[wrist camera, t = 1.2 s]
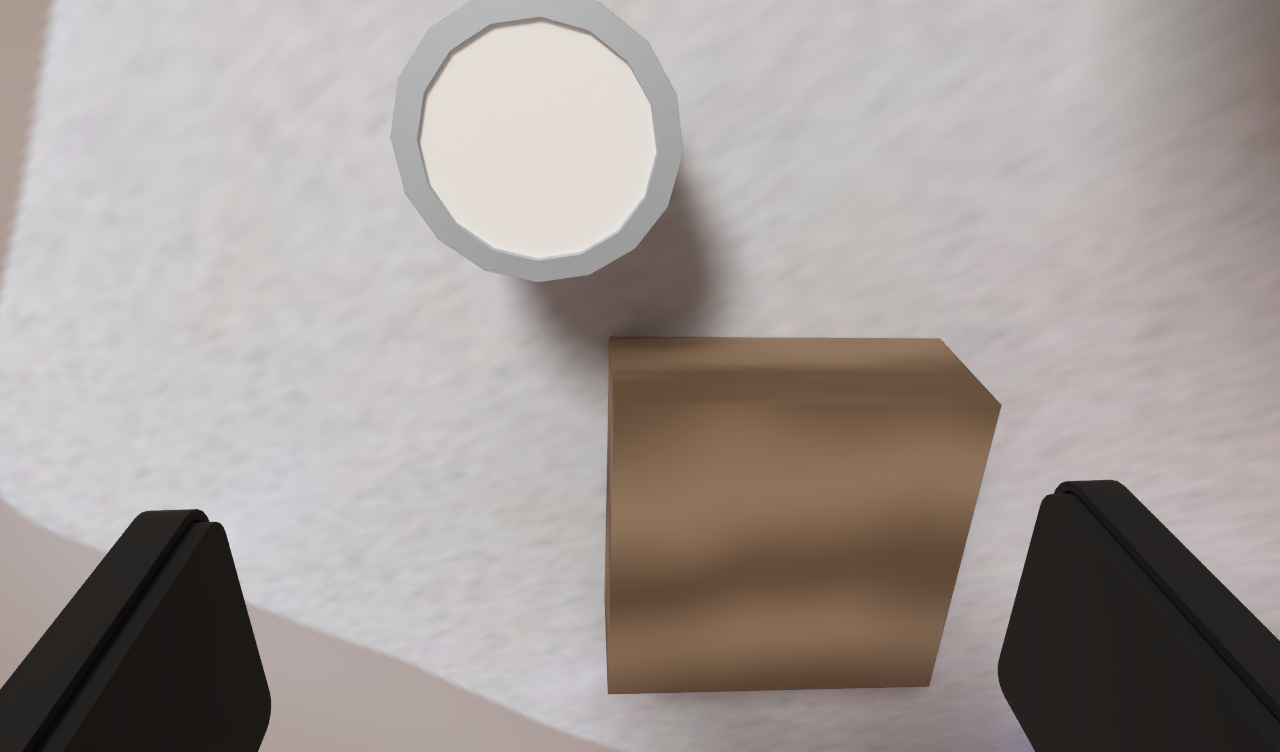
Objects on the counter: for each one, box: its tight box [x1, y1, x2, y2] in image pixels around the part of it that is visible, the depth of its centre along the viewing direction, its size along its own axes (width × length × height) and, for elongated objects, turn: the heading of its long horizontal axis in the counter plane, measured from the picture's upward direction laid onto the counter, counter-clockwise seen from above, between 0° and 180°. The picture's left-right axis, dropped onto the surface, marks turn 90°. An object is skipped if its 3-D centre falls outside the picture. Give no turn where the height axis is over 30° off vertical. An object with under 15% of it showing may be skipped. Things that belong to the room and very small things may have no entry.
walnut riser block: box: [605, 337, 1001, 694], centre depth 31 cm, size 12×12×5 cm
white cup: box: [391, 0, 683, 282], centre depth 23 cm, size 7×7×7 cm
